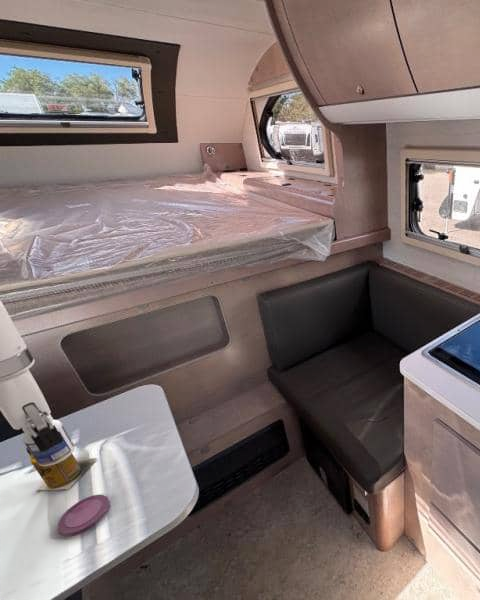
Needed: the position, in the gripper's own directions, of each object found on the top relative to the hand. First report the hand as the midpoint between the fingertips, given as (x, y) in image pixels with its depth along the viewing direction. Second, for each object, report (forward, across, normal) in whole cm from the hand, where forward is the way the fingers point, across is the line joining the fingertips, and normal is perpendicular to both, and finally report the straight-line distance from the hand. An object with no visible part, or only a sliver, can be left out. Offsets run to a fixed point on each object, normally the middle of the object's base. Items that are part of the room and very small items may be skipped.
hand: (46, 438), depth 64 cm
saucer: (+21, +2, -1) cm, 21 cm away
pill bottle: (+5, 0, 0) cm, 5 cm away
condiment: (+21, -14, +1) cm, 25 cm away
